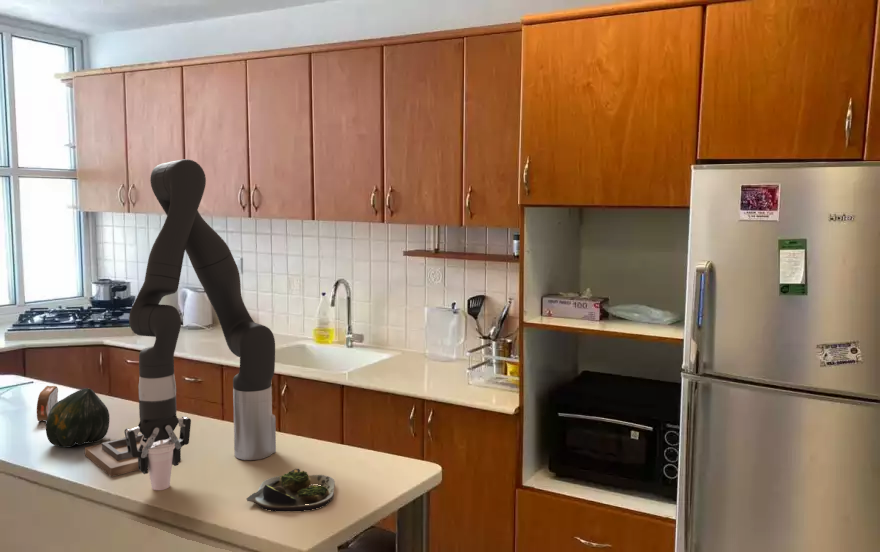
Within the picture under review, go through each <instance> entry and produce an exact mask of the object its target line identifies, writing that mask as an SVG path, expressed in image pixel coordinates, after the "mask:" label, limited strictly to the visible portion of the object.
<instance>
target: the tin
mask: <svg viewBox="0 0 880 552" xmlns="http://www.w3.org/2000/svg"><path fill="white" fill-rule="evenodd" d="M58 392H59V388H58V387H57V385H46V386H45V387H44V388H43V389H42V390H41V391H40V392H39V395H38V398H37V402H36V403H37V404H36V420H37V421H38V422H46V420H47V418H48V415H49V412H50V410H51V408H52V407H53V406H54V405H55V404H56V403H57V402H59V401H58V395H59V394H58Z"/></svg>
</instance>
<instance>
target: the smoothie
mask: <svg viewBox="0 0 880 552" xmlns="http://www.w3.org/2000/svg"><path fill="white" fill-rule="evenodd" d="M174 448H175V443H172V442H171V441H169V440H168V439H166V440H160V441H158V442H153V445H152V447H151V448H150V449H148V450H149V451H148V453H147V456H146V457H148V474H149V480H150V484H151V485H150V486H151V489H152V490H153V491H163V490H167V489H168V488H170V486H171V477H172V467H173V465H172V459H173V449H174Z"/></svg>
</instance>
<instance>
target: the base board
mask: <svg viewBox="0 0 880 552" xmlns="http://www.w3.org/2000/svg"><path fill="white" fill-rule="evenodd" d="M142 436H143V434H142V433H140V434H138V436H137V438H135V439H136V444H137V450H138V448H139V446H140V441H141V439H142ZM84 455H85V457H86V458H88V459H89V460H90V461H92V462H93V463H94V464H95V465H96V466H98V467H99V468H100V469H101V470H102V471H103V472H105V473H106V474H107V475H108V476H110V477H115V476H120V475H123V474H128V473H131V472H134V471H138V470H139V469H138V457H133V456H132V455H130V454H129V453H128V449H127V443H126V438H125V437H123V438H118V439H114V440H110V441H105V442H102V443H100V444H95V445H90V446H86V447H84ZM139 471H140V470H139Z"/></svg>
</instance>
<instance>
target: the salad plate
mask: <svg viewBox="0 0 880 552" xmlns="http://www.w3.org/2000/svg"><path fill="white" fill-rule="evenodd" d="M311 484H318V485H321V486H317V485H311ZM309 485H310V486H309ZM334 496H335V479H334V478H333V477H331V476H329V475H326V474H325V475H324V474H310V475H309V474H308V472H307V471H304V470H302V471H301V469H300V468H294V469H292V470H291V471H289V472H287V473H284V474H283V475H278V476H273V477H270V478H267V479H265V480H263V481H262V483H260V485H259V488H258V490H257V491H256V492H254V493H252V494H250V495H249V496H248V497H247V498H246V501H247V502H250V503H252V504H255V505H256V506H257V507H259V508H261V509H262V508H263V509H262V510H264V509H267V510H266V511H268V510H271V511H270V512H276V511H301V512H305V511H304V510H310V511H313V510H312V509H315V510H317V509H316V508H319V509H321V508H323V507H322V506H324V507H326V506H327V505H328V504H329V503H330V502H331V501H332V500H333V499H334ZM305 504H309V505H305ZM326 504H327V505H326ZM320 507H321V508H320Z"/></svg>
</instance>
